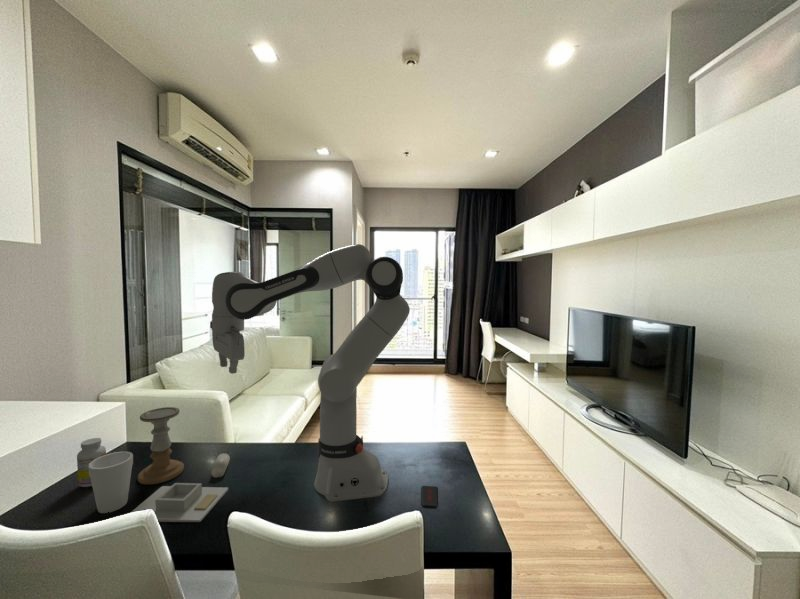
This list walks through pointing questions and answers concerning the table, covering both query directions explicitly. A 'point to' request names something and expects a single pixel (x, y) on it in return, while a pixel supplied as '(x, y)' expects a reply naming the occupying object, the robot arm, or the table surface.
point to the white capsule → (220, 465)
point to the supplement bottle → (88, 459)
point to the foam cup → (111, 480)
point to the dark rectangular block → (429, 496)
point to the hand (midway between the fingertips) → (228, 369)
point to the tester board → (183, 502)
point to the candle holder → (160, 448)
